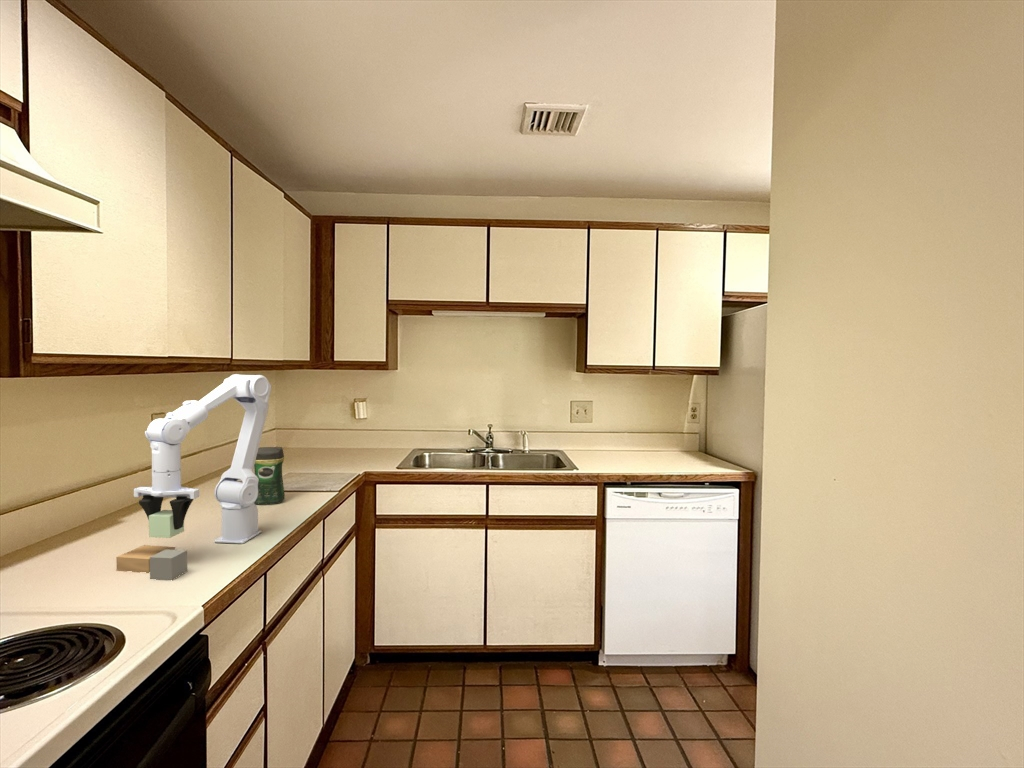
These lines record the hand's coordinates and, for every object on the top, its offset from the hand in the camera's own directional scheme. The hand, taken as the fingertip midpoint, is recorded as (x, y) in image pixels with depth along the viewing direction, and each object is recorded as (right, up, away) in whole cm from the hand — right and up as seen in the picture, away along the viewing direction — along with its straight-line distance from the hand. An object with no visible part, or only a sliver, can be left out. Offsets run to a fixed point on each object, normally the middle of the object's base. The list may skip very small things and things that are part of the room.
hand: (166, 527), depth 128 cm
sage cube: (0, -2, 0) cm, 2 cm away
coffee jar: (-1, -6, +55) cm, 55 cm away
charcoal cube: (+4, -9, -6) cm, 12 cm away
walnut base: (-4, -9, -1) cm, 10 cm away
